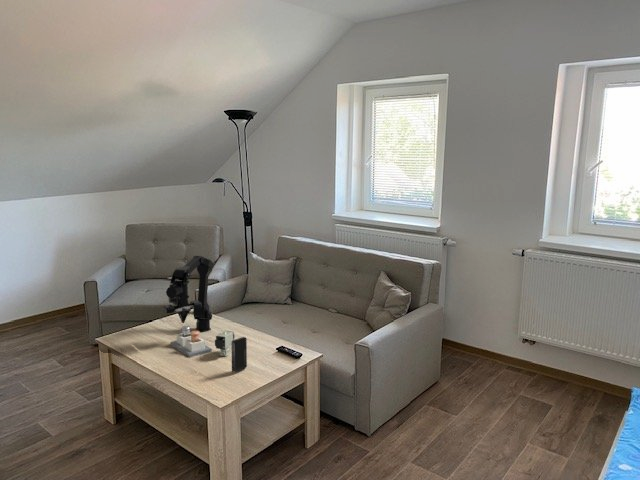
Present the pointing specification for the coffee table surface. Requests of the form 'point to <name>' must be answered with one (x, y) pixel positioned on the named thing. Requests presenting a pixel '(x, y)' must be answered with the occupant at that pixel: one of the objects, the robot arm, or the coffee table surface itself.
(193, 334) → the plug terracotta
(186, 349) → the board
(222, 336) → the pneumatic valve
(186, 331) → the plug metal
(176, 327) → the coffee table surface
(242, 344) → the phone
